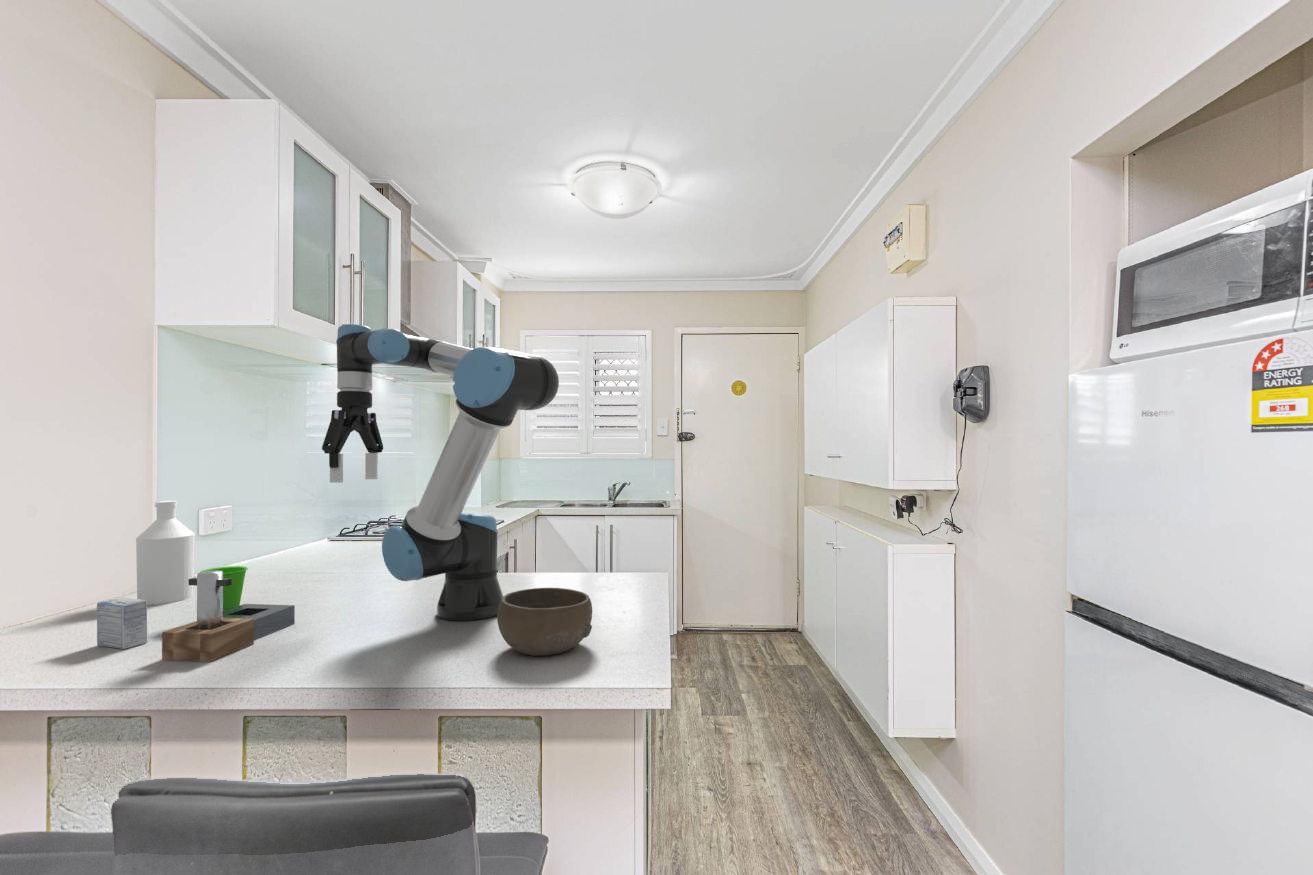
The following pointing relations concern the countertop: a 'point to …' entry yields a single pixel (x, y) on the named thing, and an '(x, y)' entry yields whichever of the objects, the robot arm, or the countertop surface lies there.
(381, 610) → the countertop surface
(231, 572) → the cup
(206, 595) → the key
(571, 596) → the bowl
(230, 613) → the block
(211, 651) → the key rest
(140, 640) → the medicine box
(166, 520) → the bottle
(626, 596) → the countertop surface
